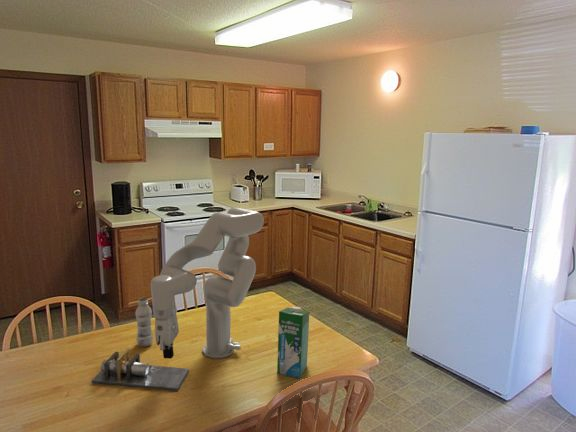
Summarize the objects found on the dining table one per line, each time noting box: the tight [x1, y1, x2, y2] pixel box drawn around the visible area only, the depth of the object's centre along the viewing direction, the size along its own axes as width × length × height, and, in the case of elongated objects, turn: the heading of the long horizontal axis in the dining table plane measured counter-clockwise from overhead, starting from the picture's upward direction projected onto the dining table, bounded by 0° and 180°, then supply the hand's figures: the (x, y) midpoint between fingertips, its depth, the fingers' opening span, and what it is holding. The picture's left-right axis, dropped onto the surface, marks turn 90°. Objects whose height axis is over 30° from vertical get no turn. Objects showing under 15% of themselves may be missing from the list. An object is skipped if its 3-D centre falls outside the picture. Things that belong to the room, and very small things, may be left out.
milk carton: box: [276, 306, 310, 379], centre depth 157 cm, size 9×9×25 cm
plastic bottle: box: [135, 297, 154, 348], centre depth 171 cm, size 6×7×20 cm
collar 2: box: [126, 352, 141, 380], centre depth 150 cm, size 1×8×6 cm, turn 174°
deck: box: [91, 365, 190, 392], centre depth 151 cm, size 31×12×1 cm, turn 85°
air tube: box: [100, 359, 149, 375], centre depth 151 cm, size 16×4×4 cm, turn 85°
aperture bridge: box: [117, 348, 131, 379], centre depth 151 cm, size 1×8×8 cm, turn 174°
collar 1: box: [104, 351, 120, 378], centre depth 151 cm, size 1×8×6 cm, turn 175°
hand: (168, 357), depth 150 cm, fingers closed
